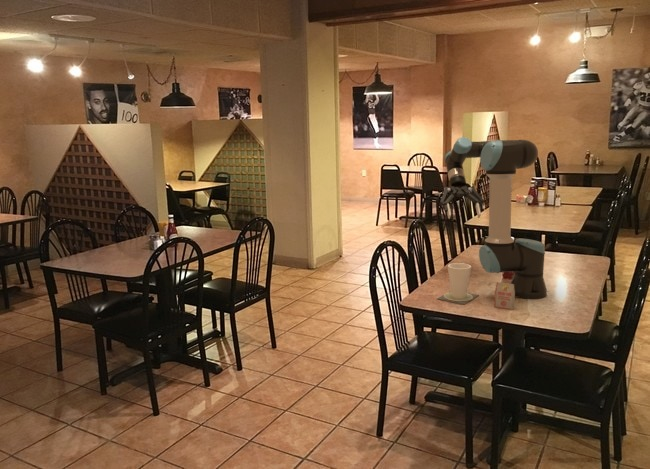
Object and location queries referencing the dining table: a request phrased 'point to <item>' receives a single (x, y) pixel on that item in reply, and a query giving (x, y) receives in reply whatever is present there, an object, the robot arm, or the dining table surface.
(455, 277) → the foam cup
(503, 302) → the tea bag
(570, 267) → the dining table surface
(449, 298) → the square coaster
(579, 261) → the dining table surface
